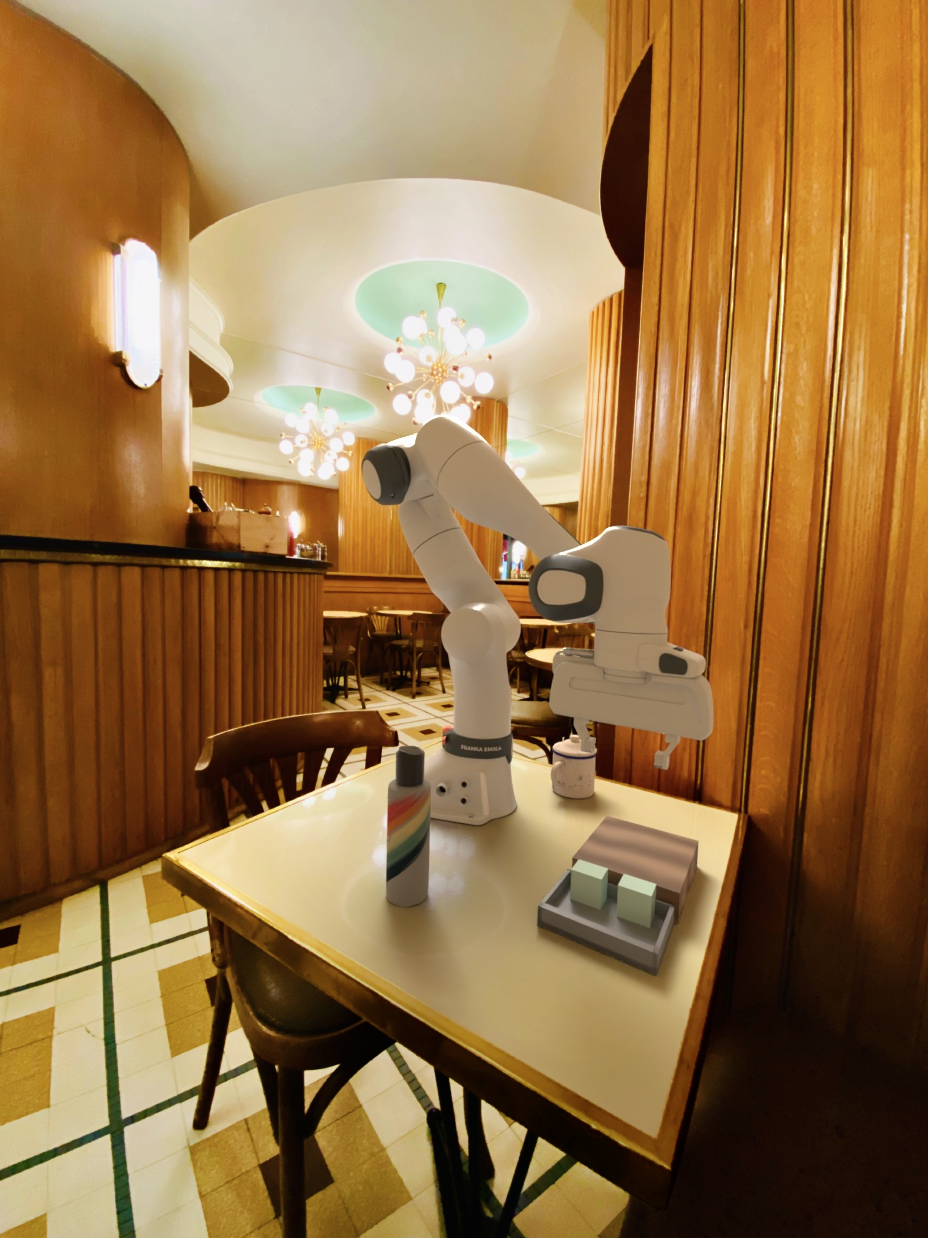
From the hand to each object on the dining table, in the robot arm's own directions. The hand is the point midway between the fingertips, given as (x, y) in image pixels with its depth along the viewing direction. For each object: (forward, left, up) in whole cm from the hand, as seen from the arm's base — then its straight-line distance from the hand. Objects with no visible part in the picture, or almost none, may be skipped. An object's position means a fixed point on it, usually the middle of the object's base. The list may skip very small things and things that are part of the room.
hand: (623, 759), depth 64 cm
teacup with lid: (-2, +36, -20) cm, 42 cm away
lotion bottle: (-28, -2, -20) cm, 34 cm away
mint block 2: (+2, -2, -17) cm, 17 cm away
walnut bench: (+5, +7, -20) cm, 21 cm away
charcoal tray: (-2, -4, -20) cm, 20 cm away
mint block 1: (-3, +1, -17) cm, 17 cm away
